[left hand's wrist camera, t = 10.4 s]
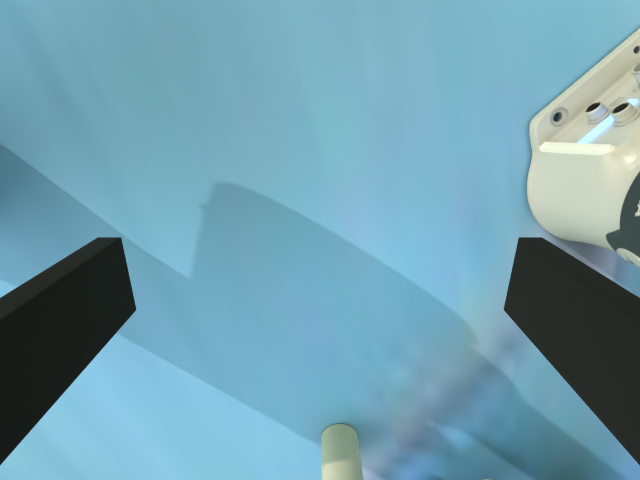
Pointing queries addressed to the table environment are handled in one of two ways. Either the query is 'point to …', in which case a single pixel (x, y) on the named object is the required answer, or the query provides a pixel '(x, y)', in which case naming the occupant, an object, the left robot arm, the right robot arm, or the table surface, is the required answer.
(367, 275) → the table surface
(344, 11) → the table surface
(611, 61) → the right robot arm
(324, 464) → the bottle
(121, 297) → the left robot arm
